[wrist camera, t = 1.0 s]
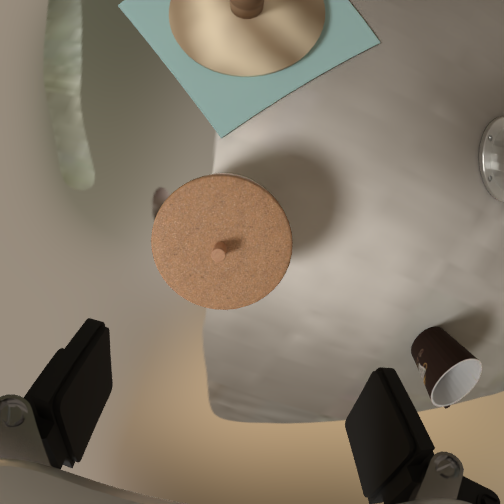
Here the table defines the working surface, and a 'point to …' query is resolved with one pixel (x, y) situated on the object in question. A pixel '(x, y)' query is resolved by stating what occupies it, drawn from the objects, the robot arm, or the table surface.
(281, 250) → the lidded bowl
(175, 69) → the rubber mat
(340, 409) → the table surface
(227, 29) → the maple lid
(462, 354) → the coffee mug
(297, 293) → the table surface
